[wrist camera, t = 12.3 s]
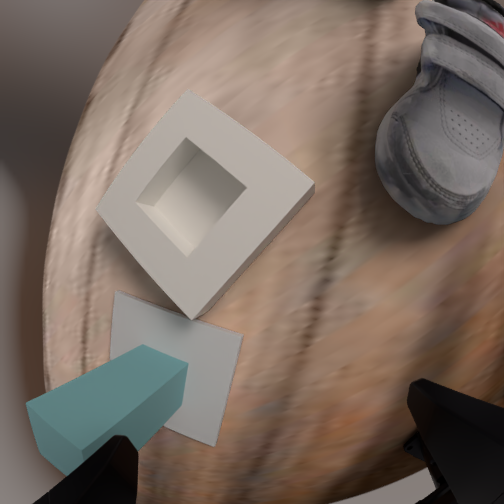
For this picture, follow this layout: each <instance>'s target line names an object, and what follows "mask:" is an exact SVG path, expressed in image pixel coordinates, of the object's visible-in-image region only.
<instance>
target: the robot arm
mask: <svg viewBox="0 0 504 504" xmlns="http://www.w3.org/2000/svg"><path fill="white" fill-rule="evenodd" d="M407 405H408V408H409V410H410V412H411V414H412V416H413V419H414V421H415V423H416V425H417V428H418V430H419V432H418V433H417V434H415V435H414V436H413V437H412V438H411V439H410V440H409V441H408V442H407V443H406V444H405V445H404V451H405V452H407V453H409V454H411V455H413V456H414V457H416V458H418V459H420V460H422V461H424V462H426V465H427V467H428V470H429V472H430V475H431V477H432V480H433V482H434V485H435V487H436V490H435V491H434V492H432V493H431V494H430V495H428V496H427V497H425V498H424V499H423V500H420V501H418V502H417V503H415V504H504V408H502V407H499V406H496V405H494V404H491V403H488V402H485V401H482V400H479V399H476V398H474V397H471V396H468V395H465V394H463V393H460V392H457V391H455V390H452V389H449V388H447V387H444V386H442V385H439V384H437V383H434V382H431V381H429V380H426V379H424V378H420V379H418V380H415V381H413V382H411V384H410V387H409V392H408V397H407ZM409 446H410V447H409ZM137 485H138V451H137V449H136V448H135V446H134V445H133V444H132V442H131V441H130V439H129V438H128V437H127V436H126V435H114V436H112V437H111V438H110V439H109V440H108V441H107V442H106V443H105V444H103V445H102V446H101V447H100V448H99V449H98V450H97V451H96V452H94V453H93V454H92V455H91V456H90V457H89V458H88V459H86V460H85V461H84V462H83V463H82V464H81V465H79V466H78V467H77V468H76V469H75V470H74V471H72V472H71V473H70V474H69V475H68V476H67V477H65V478H64V479H63V480H62V481H61V482H59V483H58V484H57V485H56V486H54V487H53V488H52V489H51V490H50V491H49V492H47V493H46V494H45V495H43V496H42V497H41V498H40V499H38V500H37V501H35V502H34V503H33V504H136V498H137Z"/></svg>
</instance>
